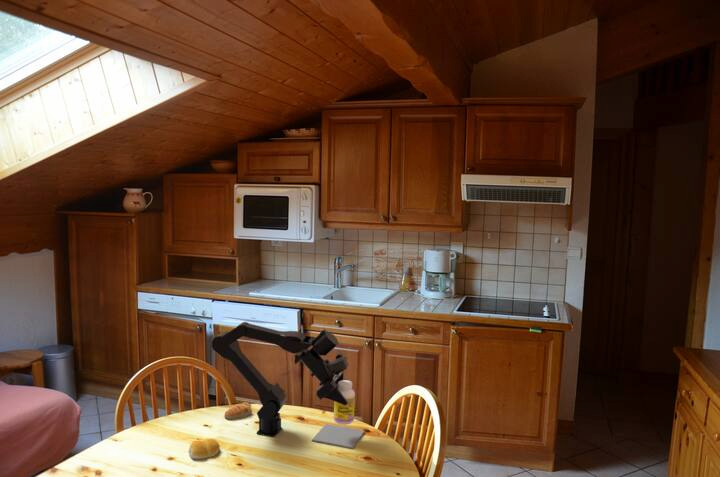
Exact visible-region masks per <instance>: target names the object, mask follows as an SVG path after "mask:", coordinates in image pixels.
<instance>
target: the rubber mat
mask: <svg viewBox="0 0 720 477" xmlns="http://www.w3.org/2000/svg"><path fill="white" fill-rule="evenodd" d="M365 431H366V430H365V429H357V428H353V427H352V428H351V427H345V426H342V425H335V424H329V423H326V424H325V425H324V426H323V427H322V428H321V429H320V430H319V431H318V432H317V433H316V434H315V436H313V437H312V438H311V442H313V443H319V444H324V445H330V446H335V447H340V448H345V449H350V450H353V449H354V448H355V447H356V445H357V443H359V440H360V439H361V438H362V437H363V435H364V434H365Z"/></svg>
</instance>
